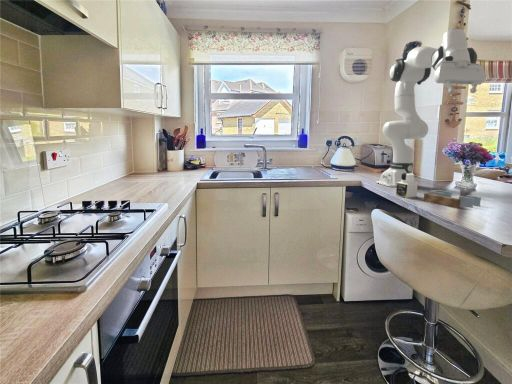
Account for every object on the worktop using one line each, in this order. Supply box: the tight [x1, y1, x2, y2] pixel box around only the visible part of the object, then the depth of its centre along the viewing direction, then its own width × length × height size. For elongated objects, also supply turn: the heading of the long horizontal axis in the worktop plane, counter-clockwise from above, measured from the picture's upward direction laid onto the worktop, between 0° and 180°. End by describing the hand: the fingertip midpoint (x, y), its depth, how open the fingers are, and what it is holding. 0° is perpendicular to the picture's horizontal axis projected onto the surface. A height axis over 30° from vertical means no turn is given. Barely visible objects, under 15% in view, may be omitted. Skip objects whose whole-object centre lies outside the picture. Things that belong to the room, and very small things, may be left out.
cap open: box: [458, 194, 482, 208], centre depth 152 cm, size 6×6×4 cm
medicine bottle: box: [395, 172, 419, 199], centre depth 172 cm, size 7×7×12 cm
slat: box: [423, 192, 461, 209], centre depth 155 cm, size 16×3×4 cm, turn 26°
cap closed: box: [428, 189, 453, 198], centre depth 165 cm, size 8×6×4 cm
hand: (462, 91), depth 140 cm, fingers open, 8 cm apart
